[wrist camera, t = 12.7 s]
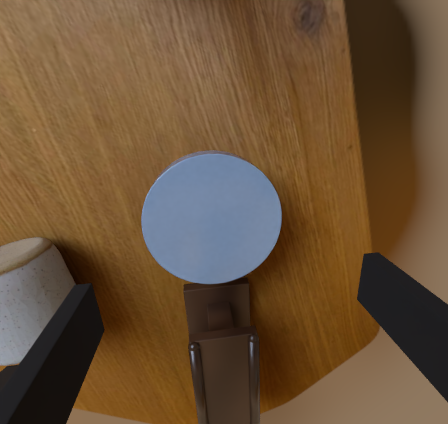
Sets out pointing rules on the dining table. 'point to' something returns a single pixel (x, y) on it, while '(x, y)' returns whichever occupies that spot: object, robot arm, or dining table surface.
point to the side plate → (211, 217)
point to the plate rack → (223, 352)
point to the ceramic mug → (29, 293)
